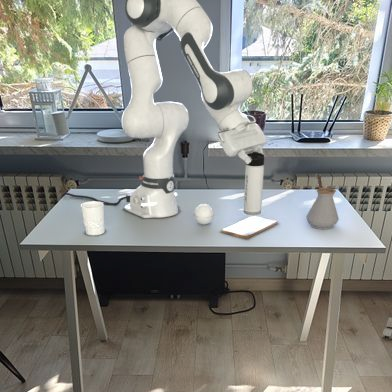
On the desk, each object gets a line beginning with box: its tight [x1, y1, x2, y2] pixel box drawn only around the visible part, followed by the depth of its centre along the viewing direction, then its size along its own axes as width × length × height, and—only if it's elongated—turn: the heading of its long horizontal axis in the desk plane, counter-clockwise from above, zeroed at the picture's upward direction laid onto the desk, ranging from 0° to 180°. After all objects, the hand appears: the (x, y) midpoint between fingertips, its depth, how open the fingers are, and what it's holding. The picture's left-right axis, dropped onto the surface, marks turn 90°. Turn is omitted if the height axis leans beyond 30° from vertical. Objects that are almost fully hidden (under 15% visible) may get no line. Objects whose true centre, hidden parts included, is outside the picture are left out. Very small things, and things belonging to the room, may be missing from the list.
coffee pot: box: [306, 172, 340, 230], centre depth 183 cm, size 21×12×15 cm, turn 0°
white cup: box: [80, 200, 106, 236], centre depth 177 cm, size 8×8×10 cm
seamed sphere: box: [193, 203, 215, 226], centre depth 183 cm, size 10×7×7 cm
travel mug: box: [243, 151, 266, 216], centre depth 174 cm, size 6×7×20 cm
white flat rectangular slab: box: [221, 215, 279, 240], centre depth 182 cm, size 11×20×1 cm, turn 140°
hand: (256, 160), depth 170 cm, fingers closed on travel mug, 6 cm apart
